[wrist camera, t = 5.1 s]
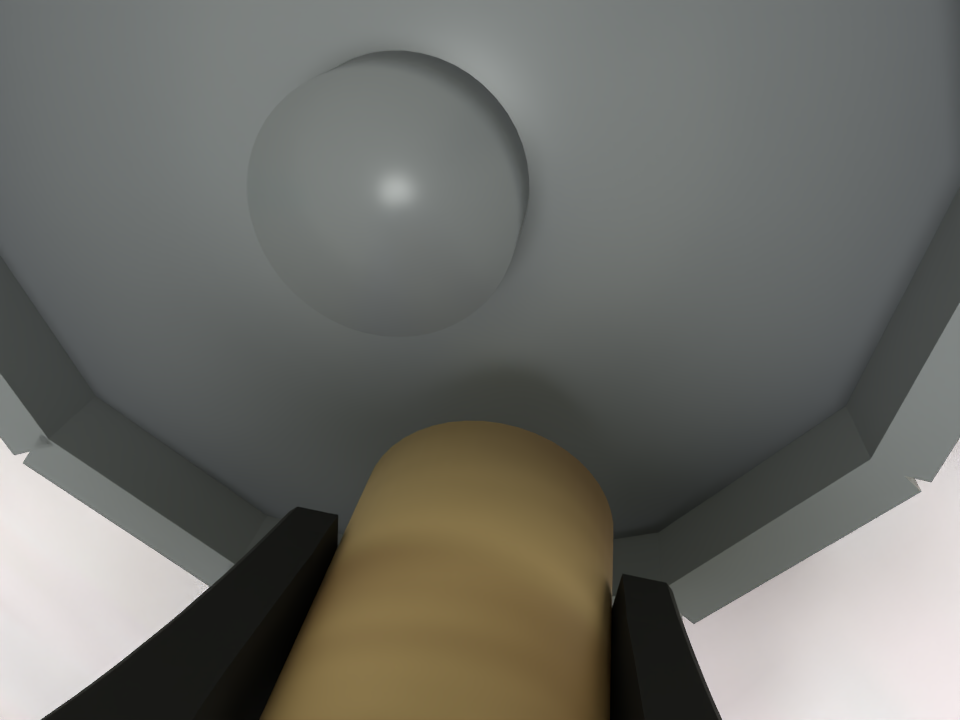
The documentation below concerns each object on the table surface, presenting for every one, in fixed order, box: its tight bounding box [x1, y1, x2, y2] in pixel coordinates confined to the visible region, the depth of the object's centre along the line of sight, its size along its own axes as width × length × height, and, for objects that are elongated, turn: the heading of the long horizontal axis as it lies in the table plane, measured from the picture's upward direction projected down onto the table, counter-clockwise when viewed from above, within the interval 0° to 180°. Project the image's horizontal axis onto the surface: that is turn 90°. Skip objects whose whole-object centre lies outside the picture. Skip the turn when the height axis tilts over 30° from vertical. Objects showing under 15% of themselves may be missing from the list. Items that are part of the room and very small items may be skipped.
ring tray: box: [0, 0, 960, 624], centre depth 12 cm, size 18×18×2 cm
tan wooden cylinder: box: [259, 421, 613, 720], centre depth 10 cm, size 4×4×5 cm
